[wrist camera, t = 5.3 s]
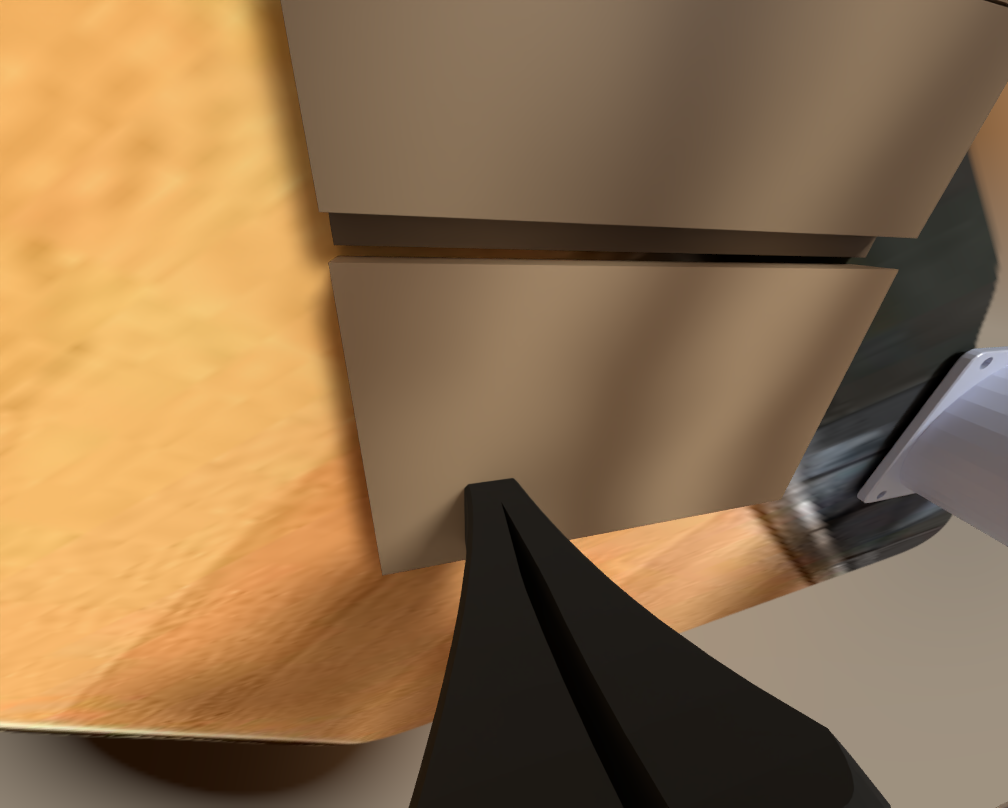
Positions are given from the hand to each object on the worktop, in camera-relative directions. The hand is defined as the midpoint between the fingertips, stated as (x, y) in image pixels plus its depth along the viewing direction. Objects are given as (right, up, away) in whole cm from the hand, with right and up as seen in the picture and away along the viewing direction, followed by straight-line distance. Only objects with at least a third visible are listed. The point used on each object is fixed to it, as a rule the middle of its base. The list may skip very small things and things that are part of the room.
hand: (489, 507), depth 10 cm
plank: (+4, +3, +1) cm, 5 cm away
